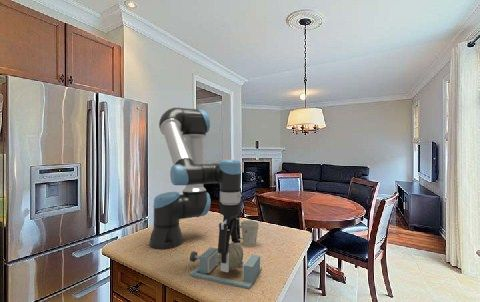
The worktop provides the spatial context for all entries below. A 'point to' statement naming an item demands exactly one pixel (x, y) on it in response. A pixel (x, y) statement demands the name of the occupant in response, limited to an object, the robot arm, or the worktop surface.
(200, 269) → the jaw
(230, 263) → the garlic bulb
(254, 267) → the vise
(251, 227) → the mug
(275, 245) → the worktop surface
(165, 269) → the worktop surface
